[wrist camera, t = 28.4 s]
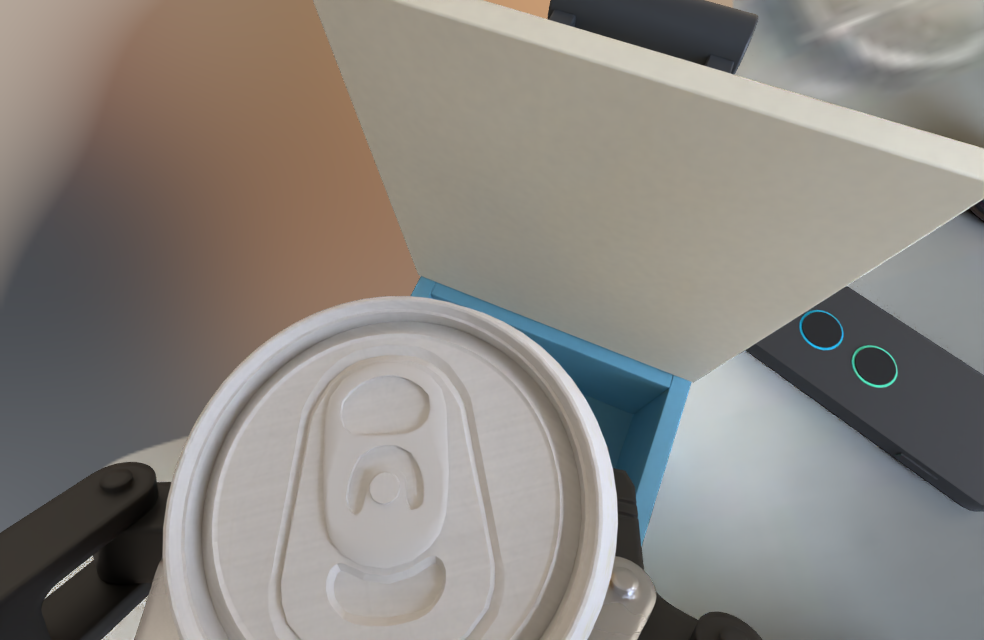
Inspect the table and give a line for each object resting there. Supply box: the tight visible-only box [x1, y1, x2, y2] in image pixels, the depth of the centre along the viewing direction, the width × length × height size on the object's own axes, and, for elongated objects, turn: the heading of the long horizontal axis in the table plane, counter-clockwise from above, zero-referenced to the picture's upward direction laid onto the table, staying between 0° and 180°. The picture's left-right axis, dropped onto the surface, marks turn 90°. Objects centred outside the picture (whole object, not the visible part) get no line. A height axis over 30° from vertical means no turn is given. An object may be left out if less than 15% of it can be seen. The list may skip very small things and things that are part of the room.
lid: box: [313, 0, 984, 382], centre depth 21 cm, size 18×16×5 cm
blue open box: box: [411, 276, 691, 547], centre depth 30 cm, size 17×16×9 cm
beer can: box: [162, 296, 618, 640], centre depth 13 cm, size 6×6×15 cm
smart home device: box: [746, 286, 984, 511], centre depth 36 cm, size 8×2×20 cm
